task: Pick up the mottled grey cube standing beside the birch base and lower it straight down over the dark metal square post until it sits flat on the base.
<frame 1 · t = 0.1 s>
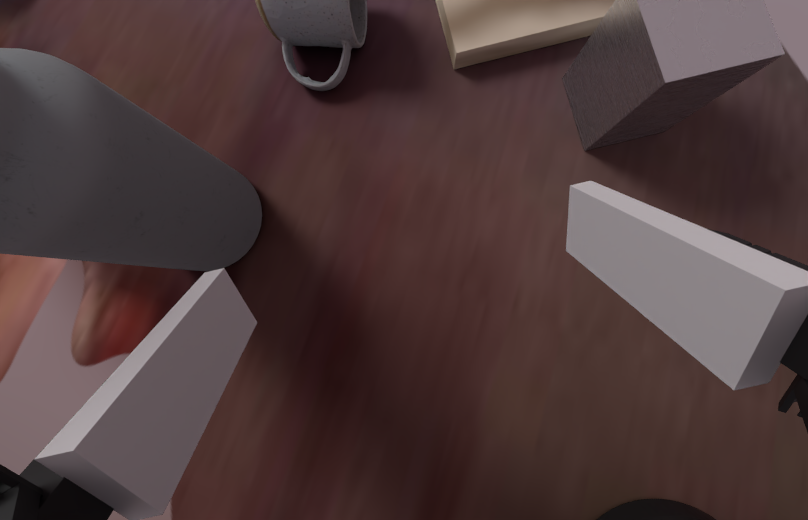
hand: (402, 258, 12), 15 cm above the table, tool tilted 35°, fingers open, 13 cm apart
mottled grey cube: (612, 104, 28), on the table
ceramic mug: (329, 44, 30), on the table
water bottle: (215, 222, 29), on the table
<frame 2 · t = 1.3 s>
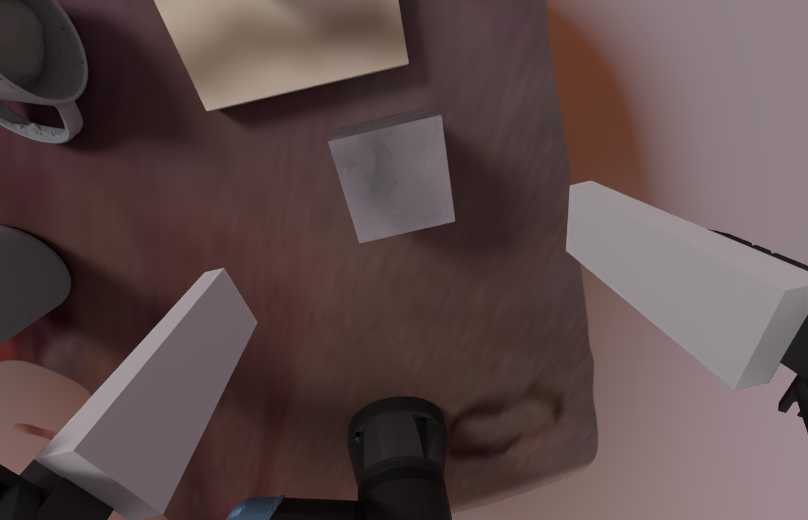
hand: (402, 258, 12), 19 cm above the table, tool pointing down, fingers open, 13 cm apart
mottled grey cube: (389, 159, 28), on the table
ceramic mug: (40, 62, 23), on the table
water bottle: (20, 266, 30), on the table
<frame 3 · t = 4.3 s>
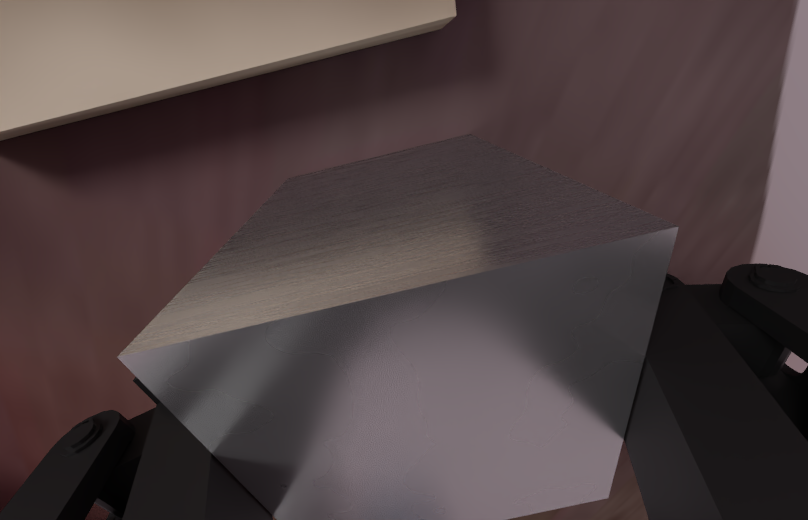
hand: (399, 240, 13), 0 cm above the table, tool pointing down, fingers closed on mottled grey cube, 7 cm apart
mottled grey cube: (398, 239, 13), on the table, touching gripper
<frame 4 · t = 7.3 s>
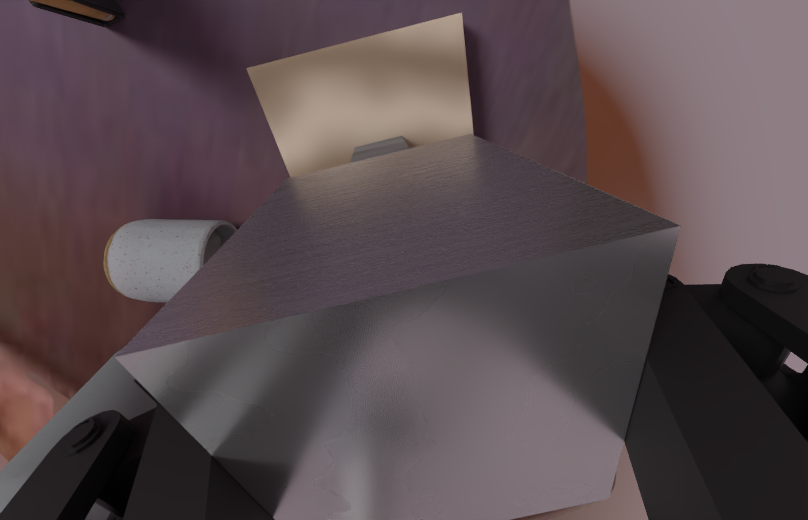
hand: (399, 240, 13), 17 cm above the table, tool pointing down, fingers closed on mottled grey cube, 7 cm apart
mottled grey cube: (398, 239, 13), point 17 cm above the table, touching gripper
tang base: (383, 160, 28), on the table
ceramic mug: (209, 254, 31), on the table
water bottle: (161, 369, 38), on the table
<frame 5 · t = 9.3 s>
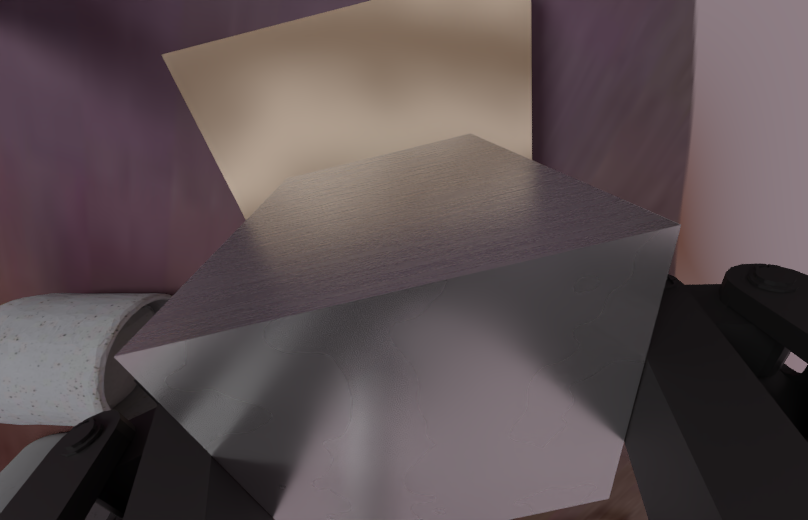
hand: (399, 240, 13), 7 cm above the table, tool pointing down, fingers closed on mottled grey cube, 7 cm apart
mottled grey cube: (398, 239, 13), point 6 cm above the table, touching gripper
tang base: (390, 196, 19), on the table
ceramic mug: (145, 328, 22), on the table
water bottle: (95, 458, 29), on the table
when the fingers open (4 cm above the table, at t = 10.7 s): mottled grey cube drops 1 cm, resting on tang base.
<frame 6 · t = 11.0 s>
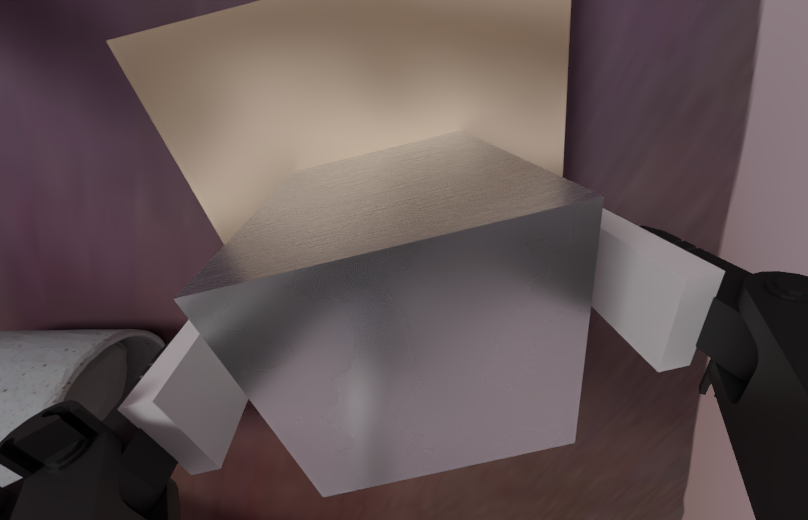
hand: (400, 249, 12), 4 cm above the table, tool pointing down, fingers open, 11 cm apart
mottled grey cube: (396, 227, 15), point 2 cm above the table, touching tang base
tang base: (393, 211, 16), on the table
ceramic mug: (117, 362, 20), on the table
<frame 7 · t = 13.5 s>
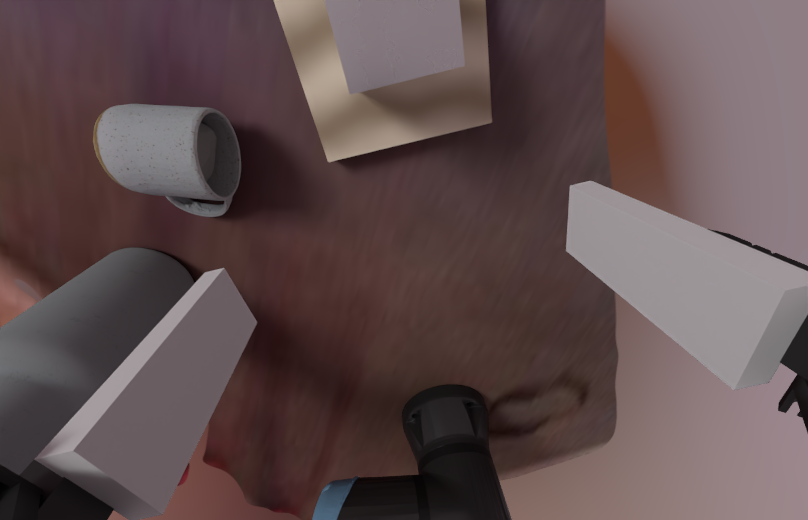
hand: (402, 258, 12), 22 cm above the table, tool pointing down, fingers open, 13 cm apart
mottled grey cube: (386, 28, 24), point 2 cm above the table, touching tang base
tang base: (386, 30, 26), on the table
ceramic mug: (204, 159, 30), on the table
water bottle: (155, 280, 37), on the table
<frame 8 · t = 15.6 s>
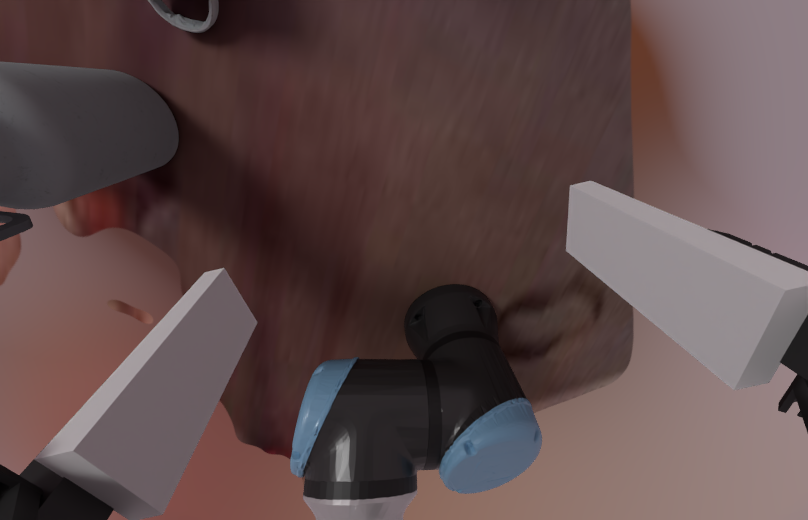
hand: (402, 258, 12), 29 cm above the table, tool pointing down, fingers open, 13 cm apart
water bottle: (134, 124, 34), on the table
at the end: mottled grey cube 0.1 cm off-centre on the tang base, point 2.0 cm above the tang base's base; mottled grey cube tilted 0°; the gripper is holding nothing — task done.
